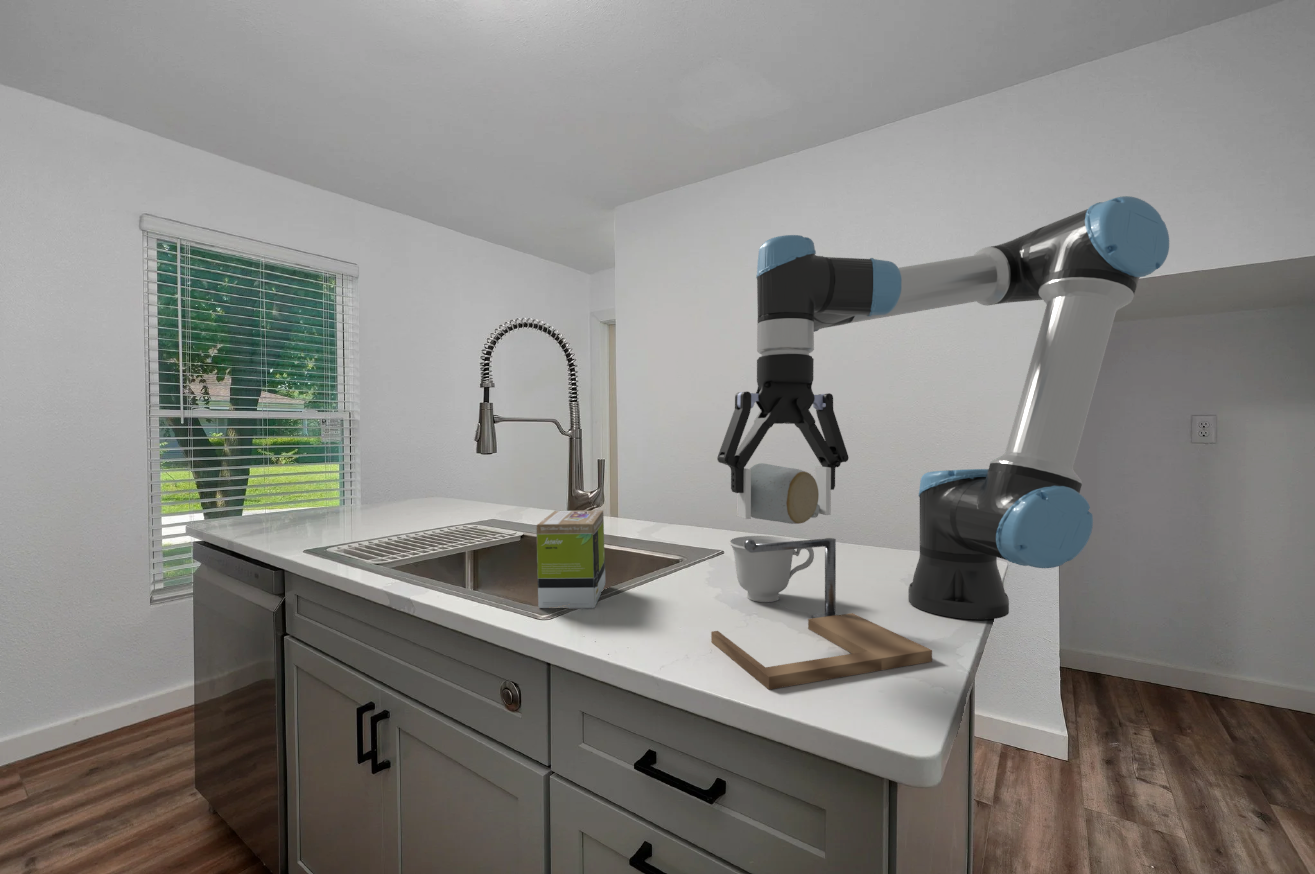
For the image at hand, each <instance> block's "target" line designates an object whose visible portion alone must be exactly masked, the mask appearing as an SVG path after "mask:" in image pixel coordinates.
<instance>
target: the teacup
mask: <svg viewBox="0 0 1315 874" xmlns="http://www.w3.org/2000/svg"><path fill="white" fill-rule="evenodd" d="M748 539H752V540H754V541H755V542H756V544H763V543H776V542H789V541H794V539H790V538H786V537H780V536H771V535H746V536H738V537H735V538H732V539H730V540H729V542H728V544H729V545H730V546H731V548H732V550H733V555H734V556H733V558H734V563H735V573H736V578H737V582H738V584H739V586H740V587H741V588H742V589H743V590H745V591H746V592H747V594H746V598H747V599H748V600H749V601H753V602H759V603H773V602H777V601H779V600H780V592H783V591H784V590H785V589H786V588H787V587H788V585H789V583H790V579H791V578H792V577H793V575H794V574H796V573H797V572H799V571H802V570H805V569H807V568H809V567H810V566H811V565H812V563H813V562H814V559H815V552H814V549H813V548H802V549H790V550H778V551H766V552H754V553H750V552H749V551H747V550H746V549H745V548H744V543H745V541H746V540H748ZM802 550H806V551H807V552H808V557H807V559H806V561H805V562H803V563H801V564H798V565H796V566H794V567H793V568H792V563H793V557H794V556H796V557H799V556H800V555H801V554H800V553H801V551H802Z"/></svg>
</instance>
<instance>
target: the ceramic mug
mask: <svg viewBox="0 0 1315 874" xmlns="http://www.w3.org/2000/svg"><path fill="white" fill-rule="evenodd" d="M749 469H751V518H753V519H757V520H765V521H770V522H778V523H784V524H791V525H794V524H795V525H797V524H803V523H806V522H807V521H809V520H810V519H811V518H812V519H815V518H818V516H819V515H820V514H819V510H820V506H819V505H818V496H819V493H818V486H817V483H816V481H815V476H813V475H812V474H811V473H810V472H807V471H805V470H802V469H799V468H794V467H793V468H792V467H786V466H780V465H773V464H768V463H762V462H760V463H756V464H753V465H752V466H751V467H750V468H749Z"/></svg>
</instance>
